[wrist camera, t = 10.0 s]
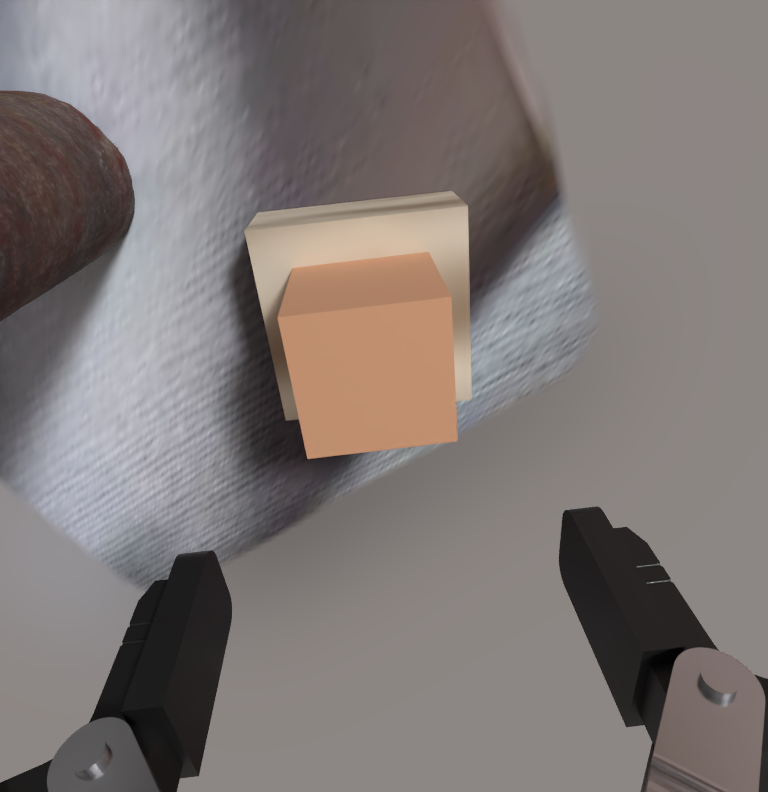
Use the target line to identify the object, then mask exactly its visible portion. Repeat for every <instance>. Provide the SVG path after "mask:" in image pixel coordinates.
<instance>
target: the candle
mask: <svg viewBox="0 0 768 792" xmlns="http://www.w3.org/2000/svg"><path fill="white" fill-rule="evenodd" d="M134 205H135V199H134V191H133V188H132V179H131V176H130V172H129V169H128V166H127V164H126V161H125V159H124V157H123V155H122V154H121V153H120V152H119V150H118V148H117V147H116V146H115V145H114V144H113V143H112V142H111V141H110V140H109V139H108V138H107V137H106V136H105V135H104V134H103V132H102V131H101V130H100V129H99V128H98V127H97V126H95V125H94V124H93V123H92V122H91V121H90V120H89V119H88V118H87V117H86V116H85V115H83V114H82V113H81V112H80V111H78V110H77V109H76V108H74V107H73V106H72V105H70V104H68V103H65V102H62V101H59V100H57V99H55V98H52V97H50V96H47V95H45V94H40V93H34V92H25V91H0V321H1V320H3V319H5V318H6V317H8V316H9V315H11V314H12V313H14V312H15V311H16V310H18V309H19V308H21V307H22V306H24V305H26V304H28V303H29V302H31V301H33V300H34V299H36V298H37V297H39V296H40V295H42V294H43V293H45V292H47V291H48V290H50V289H51V288H53V287H54V286H56V285H58V284H59V283H61V282H62V281H64V280H65V279H67V278H68V277H70V276H71V275H73V274H75V273H76V272H78V271H79V270H81V269H82V268H83V267H85V266H86V265H88V264H89V263H91V262H92V261H94V260H95V259H97V258H98V257H99V256H101V255H102V254H104V253H106V252H107V251H108V250H109V249H110V248H111V247H112V246H113V245H114V244H116V243H117V242H118V241H119V240H120V239H121V238H122V237H123V235H124V234H125V233H126V231H127V230H128V228H129V226H130V223H131V220H132V217H133V213H134Z"/></svg>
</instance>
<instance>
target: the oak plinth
mask: <svg viewBox="0 0 768 792" xmlns="http://www.w3.org/2000/svg"><path fill="white" fill-rule="evenodd" d="M244 232H245V236H246V241H247V245H248V250H249V255H250V259H251V264H252V268H253V273H254V277H255V282H256V287H257V291H258V296H259V300H260V305H261V310H262V314H263V319H264V323H265V328H266V332H267V337H268V342H269V346H270V351H271V355H272V360H273V364H274V369H275V374H276V378H277V383H278V387H279V392H280V396H281V401H282V406H283V410H284V415H285V419H286V421H288V420H297V419H299V417H298V412H297V407H296V403H295V398H294V393H293V388H292V384H291V379H290V374H289V370H288V365H287V360H286V356H285V351H284V346H283V341H282V337H281V332H280V327H279V323H278V318H277V317H278V314H279V311H280V308H281V304H282V301H283V298H284V295H285V291H286V288H287V285H288V282H289V278H290V275H291V272H292V269H293V268H296V267H304V266H313V265H321V264H329V263H338V262H346V261H355V260H363V259H371V258H380V257H388V256H397V255H405V254H414V253H422V252H429V253H430V255H431V257H432V259H433V261H434V263H435V265H436V267H437V269H438V271H439V273H440V275H441V277H442V279H443V281H444V283H445V285H446V287H447V289H448V291H449V293H450V295H451V299H452V322H453V344H454V367H455V390H456V401H465V400H472V395H471V343H470V291H469V240H468V206H467V205H466V204H465V203H464V202H463V201H462V200H461V199H460V198H459V197H458V196H457V195H456V194H455V193H454V192H453V191H446V192H437V193H428V194H420V195H411V196H402V197H393V198H384V199H375V200H366V201H357V202H348V203H339V204H330V205H321V206H312V207H303V208H294V209H285V210H276V211H267V212H258V213H257V214H256V216H255V217H254V218H253V220H252V221H251V223H250V224H249V225H248V227H247V228H246V229H245V231H244Z"/></svg>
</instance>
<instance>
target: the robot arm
mask: <svg viewBox="0 0 768 792" xmlns="http://www.w3.org/2000/svg"><path fill="white" fill-rule="evenodd" d="M559 566H560V572H561V577H562V580H563V583H564V586H565V588H566V590H567V593H568V595H569V597H570V600H571V602H572V604H573V606H574V609H575V611H576V613H577V616H578V618H579V620H580V622H581V625H582V627H583V629H584V632H585V634H586V636H587V638H588V640H589V643H590V645H591V648H592V650H593V652H594V654H595V657H596V659H597V661H598V664H599V666H600V668H601V670H602V673H603V675H604V677H605V680H606V682H607V684H608V686H609V689H610V691H611V693H612V695H613V698H614V700H615V702H616V705H617V707H618V709H619V711H620V714H621V716H622V718H623V720H624V723H625V725H626V727H631V726H639V725H645V727H646V729H647V731H648V734H649V736H650V738H651V740H652V745H651V750H650V754H649V758H648V762H647V766H646V771H645V775H644V779H643V784H642V788H641V792H768V679H766V678H762V677H759V676H757V675H754V674H753V673H752V672H751V671H750V670H749V669H748V668H747V667H746V666H745V665H744V664H743V663H741V662H740V661H739V660H737V659H735V658H734V657H732V656H730V655H728V654H726V653H724V652H721V651H719V650H718V649H717V648H716V646H715V645H714V644H713V642H712V641H711V639H710V638H709V636H708V635H707V633H706V632H705V630H704V629H703V627H702V626H701V624H700V623H699V621H698V619H697V618H696V616H695V615H694V614H693V612H692V610H691V609H690V607H689V606H688V604H687V603H686V601H685V600H684V598H683V597H682V595H681V594H680V592H679V591H678V589H677V588H676V586H675V585H674V584H673V583H672V582H671V580H670V577H669V576H668V574H667V573H666V571H665V569H664V568H663V567H662V566H660V562H659V560H658V559H657V557H656V556H655V554H654V553H653V551H652V550H651V548H650V547H649V545H648V544H647V542H645V541H644V540H643V539H641V538H640V537H639V536H637V535H636V534H635V533H634V532H632V531H631V530H630V529H629V528H627V527H622V528H614V529H613V527H612V525H611V524H610V522H609V520H608V519H607V517H606V515H605V514H604V512H603V511H602V509H601V508H599V507H589V508H581V509H572V510H565V511H564V513H563V517H562V529H561V540H560V550H559ZM231 619H232V603H231V597H230V593H229V590H228V587H227V585H226V582H225V579H224V576H223V574H222V570H221V567H220V565H219V562H218V559H217V556H216V554H215V552H214V551H212V550H211V551H202V552H194V553H185V554H179V555H178V556H177V557H176V559H175V561H174V564H173V567H172V569H171V572H170V575H169V578H168V579H167V580H159V581H155V582H154V583H153V584H152V585H151V587H150V588H149V589H148V590H147V591H146V593H145V594H144V595H143V596H142V597H141V599H140V600H139V601H138V603H137V606H136V608H135V611H134V613H133V616H132V619H131V621H130V627H128V629H127V631H126V634H125V636H124V639H123V641H122V642H123V645H122V646H120V649H119V651H118V654H117V656H116V659H115V661H114V664H113V666H112V669H111V671H110V674H109V676H108V678H107V681H106V684H105V686H104V689H103V691H102V694H101V696H100V699H99V701H98V704H97V706H96V709H95V711H94V714H93V716H92V718H91V720H90V722H89V723H88V724H86V725H85V726H83V727H81V728H80V729H79V730H77V731H76V732H75V733H73V734H72V735H71V736H70V737H69V738H68V739H67V740H66V741H65V742H64V743H63V745H62V746H61V747H60V748H59V750H58V751H57V753H56V754H55V756H54V758H53V759H52V760H50V761H48V762H46V763H44V764H42V765H40V766H38V767H35V768H33V769H31V770H28V771H26V772H24V773H21V774H19V775H17V776H15V777H12V778H10V779H8V780H5V781H3V782H1V783H0V792H177V788H178V784H179V779H180V778H186V777H194V776H199V772H200V767H201V762H202V758H203V753H204V749H205V743H206V739H207V734H208V730H209V725H210V719H211V715H212V710H213V706H214V701H215V697H216V692H217V687H218V682H219V678H220V673H221V668H222V663H223V659H224V654H225V649H226V644H227V640H228V635H229V630H230V625H231Z"/></svg>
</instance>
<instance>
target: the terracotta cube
mask: <svg viewBox="0 0 768 792" xmlns="http://www.w3.org/2000/svg"><path fill="white" fill-rule="evenodd" d="M277 318H278V323H279V327H280V332H281V337H282V341H283V346H284V351H285V356H286V360H287V365H288V370H289V374H290V379H291V384H292V388H293V393H294V398H295V403H296V407H297V412H298V417H299V421H300V426H301V431H302V435H303V440H304V445H305V450H306V454H307V459H312V458H321V457H329V456H337V455H346V454H354V453H363V452H371V451H379V450H388V449H396V448H405V447H413V446H421V445H430V444H438V443H447V442H455V441H458V435H457V413H456V390H455V367H454V344H453V322H452V299H451V295H450V293H449V291H448V289H447V287H446V285H445V283H444V281H443V279H442V277H441V275H440V273H439V271H438V269H437V267H436V265H435V263H434V261H433V259H432V257H431V255H430V253H429V252H422V253H414V254H405V255H397V256H388V257H380V258H371V259H363V260H355V261H346V262H338V263H329V264H321V265H313V266H304V267H296V268H293V269H292V272H291V275H290V278H289V282H288V285H287V288H286V291H285V295H284V298H283V301H282V304H281V308H280V311H279V314H278V317H277Z"/></svg>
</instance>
